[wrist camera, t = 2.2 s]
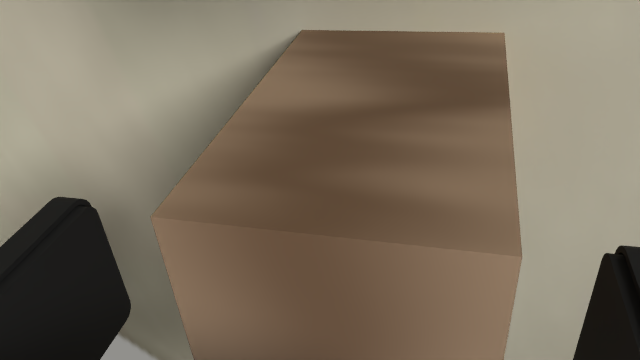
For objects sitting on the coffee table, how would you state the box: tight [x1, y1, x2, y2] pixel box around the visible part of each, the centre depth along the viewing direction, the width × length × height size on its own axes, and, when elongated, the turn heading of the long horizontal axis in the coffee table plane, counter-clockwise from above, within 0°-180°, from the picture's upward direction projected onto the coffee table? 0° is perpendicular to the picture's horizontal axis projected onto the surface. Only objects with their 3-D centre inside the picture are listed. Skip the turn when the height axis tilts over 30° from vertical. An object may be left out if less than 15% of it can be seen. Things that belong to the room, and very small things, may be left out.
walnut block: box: [151, 30, 522, 360], centre depth 12 cm, size 5×5×8 cm
